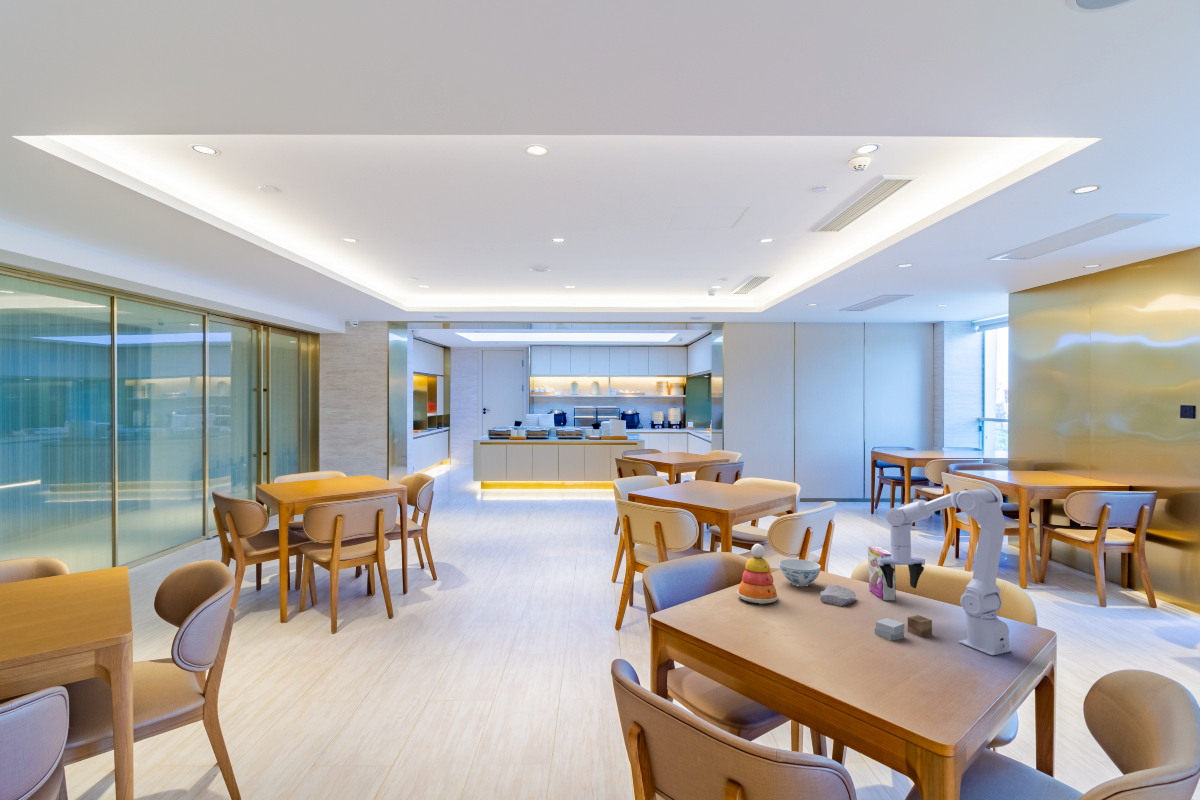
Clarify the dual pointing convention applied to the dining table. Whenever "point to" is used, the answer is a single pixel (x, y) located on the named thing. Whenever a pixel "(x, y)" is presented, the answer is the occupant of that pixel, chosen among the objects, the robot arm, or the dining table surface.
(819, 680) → the dining table surface
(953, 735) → the dining table surface
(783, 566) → the chinaware
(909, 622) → the walnut cube
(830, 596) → the stone block
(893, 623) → the tower top
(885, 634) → the tower base
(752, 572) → the stacking toy
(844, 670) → the dining table surface
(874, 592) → the candy bar box
